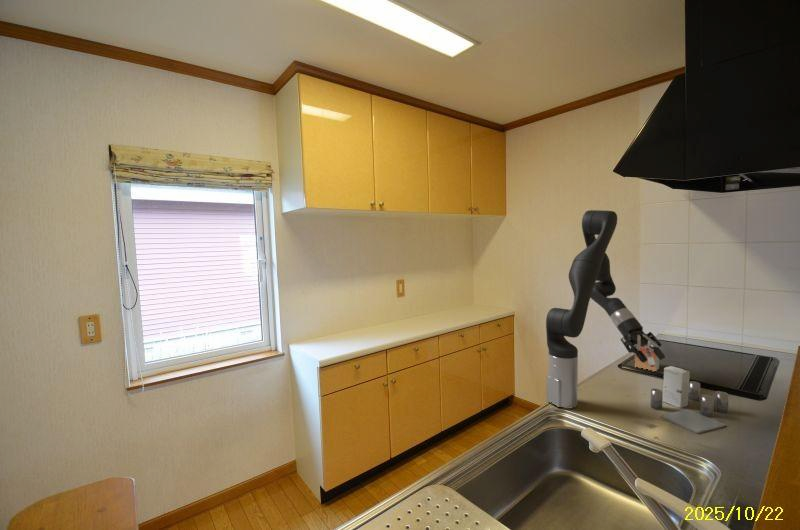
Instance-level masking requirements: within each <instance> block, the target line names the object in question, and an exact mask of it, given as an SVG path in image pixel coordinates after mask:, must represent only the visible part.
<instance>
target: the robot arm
mask: <svg viewBox="0 0 800 530" xmlns="http://www.w3.org/2000/svg"><path fill="white" fill-rule="evenodd" d="M617 224H618V214H617V213H616V212H615V211H613V210H598V209H597V210H595V209H594V210H593V209H591V210H586V211H585V212H584V213H583V215H582V218H581V229H582V235H583V238H584V242H585V246H586V247H585V248H584V249H583V250H581V251H580V252H579V253H578V254H577V255H576V256H574V258H573V261H572V263H571V266H570V269H569V271H568V280H569V284H570V286H571V290H572V293H573V296H574V297H573V304H572V307H571V309H568V308H561V307H552V308H551V309H549V310H548V312H547V314H546V319H545V329H546V331H545V332H546V346H547V348H548V374H547V375H546V377H545V378H546V380H545V381H546V383H545V384H546V389H545V391H546V393H545V394H546V395H545V396H546V399H545V400H546V402H547V403H549V402H550V401H551V400H552V401H551V402H552V403H553V404H555V405H557V406H559V407H569V408H568V409H571V408H570V407H575V408H577V407H578V398H579V397H578V396H579V395H578V390H579V389H578V383H579V382H578V381H579V380H578V375H579V374H578V373H579V372H578V371H579V370H578V368H579V366H578V364H579V360H578V357H579V354H578V353H579V351H578V348H577V347H576V345H574V344H573V343H571V342H570V341H568V340H567V339H566V338H565V337H568V338H573V339H574V338H578V337H579V336H580V334H581V333H582V331H583V329H584V325H585V322H586V317H587V314H588V313H587V312H588V308H589V304H590V300H592V301H594V302H595V303H596V304H597V305H599V306H600V308H602V309H603V310H604V311H605V312H606V313H607V315H608V317H610V319H611V320H612V323H613V324H614V327H616V329H617V330H618V331H619V332H620V333H621V335H622V337H621V338H620V341H621V342H622V345H624V347H625V349H626V350H627V352H628V353H630V354H631V353H633V354H634V355H635V354H636V355H637V357H638V358H639V359H640V361H641V362H643V363H644V362H646V361H647V360H648V359H647V358H646V356H645V355H644V354H643V352H642V351H640V346H645V347H646V348H650V349H651V350H653V352H654V353H655V354H656V356H657V357H658V358H659V361H660V360H661V361H662V360H663V359H665V358H666V356H665V354H664V353H663V352H662V350H661V349H659V347H662V343H661V342H660V341H659V340H658V338H657V337H656V336H655V334H654V333H652V332H651V331H649V332H648V333H645V331H644V330H643V329H644V326H642V324H641V323H640V322H639V321H638V319H637V318H636V317H635V315H634V313H633V312H631V310H630V309H628V307H627V306H626V305H625V303H624V302H623V301H622V300H621V299H620V298H618V297H611V296H613V295H615V293H616V291H617V287H616V284H615V283H614V279H613V277H612V274H611V262H610V258H609V256H608V254H607V253H606V252H607V248H608V246H609V244H610V242H611V241H612V238H613V235H614V233H615V230H616V228H617ZM596 236H597V237H596ZM651 345H653V347H652V346H651ZM551 402H550V403H551ZM550 403H549V404H550ZM576 406H577V407H576Z"/></svg>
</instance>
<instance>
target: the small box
mask: <svg viewBox="0 0 800 530" xmlns="http://www.w3.org/2000/svg"><path fill="white" fill-rule="evenodd" d="M651 346H652V347H653V345H651ZM660 347H661V346H660ZM660 347H659V349H660ZM660 350H661V349H660ZM640 351H642V352H643V354H644V355H645V356H646V358H647V359H648V360H647V361H646V362H644V363H643V362H641V361H640V359H639V358H638V357H637V355H636V354H634V368H636V367H638V369H641V368H643V369H642V370H646V369H648V370H647V371H650V370H652V371H651V372H654V371H656V372H657V371H658V370H659V369H660V359H659V358H658V357H657V356H656V354H655V353H654V352H653V350H651V349H650V348H646V347H645V346H640Z"/></svg>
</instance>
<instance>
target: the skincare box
mask: <svg viewBox="0 0 800 530" xmlns="http://www.w3.org/2000/svg"><path fill="white" fill-rule="evenodd" d="M690 373H691V372H690V370H686V369H683V368H680V367H677V366H676V367H675V366H672V365H670V366H666V367H664V368H663V384H662V385H663V386H662V391H663V399H662V403H663V402H664V403H666V404H669V405H672V406H674V407H677V408H685V407H687V406H688V405H689V399H688V394H689V381H690Z"/></svg>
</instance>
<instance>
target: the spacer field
mask: <svg viewBox="0 0 800 530" xmlns="http://www.w3.org/2000/svg"><path fill="white" fill-rule="evenodd" d="M714 395H715V397H714V396H712V395H710V394H707V393H706V394H703V393H702V394H701V383H700V382H698V381H695V380H694V381H693V380H689V394H688V401H691V402H698V403H699V402H700V409H699V411H700V413H699V414H701V415H703V416H706V417H708V418H713V417H714V411H716V412H718V413H721V414H728V413H729V397H730V396H729V395H730V394H729V393H727V392H725V391H722V390H721V391H720V390H718V391H717V390H716V391H715V394H714ZM714 398H715V399H714ZM714 402H715V403H714ZM714 404H715V405H714ZM650 408H651V409H652V410H655V411H656V410H657V411H662V410H663V389H658V388H650ZM714 409H715V410H714Z"/></svg>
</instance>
